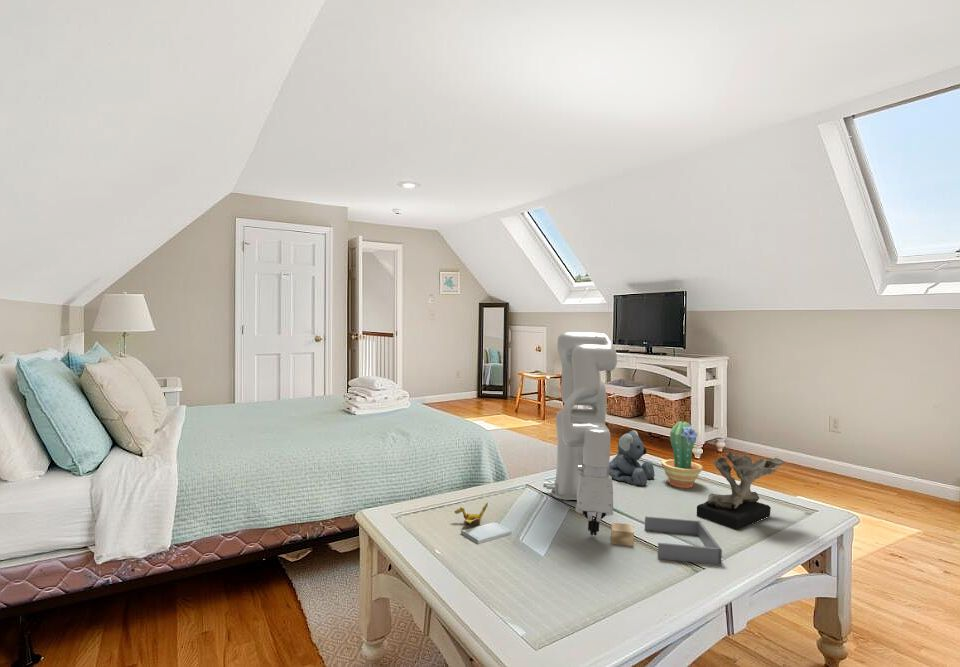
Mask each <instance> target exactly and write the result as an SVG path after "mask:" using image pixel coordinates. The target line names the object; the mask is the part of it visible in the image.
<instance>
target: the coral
mask: <svg viewBox="0 0 960 667" xmlns="http://www.w3.org/2000/svg"><path fill="white" fill-rule="evenodd" d="M733 453H734V454H733ZM733 453H732V452H731V451H728V452H726V453H725V456H726V457H721V456H720V457H718V458H717V459H716V460H715V459H713V460H712V461H713V465H714V466H715V468H716V469H717V470H718V471H719V474H720V475H721V476H722V477H724V479H726V481H727V482H728V483H729V485H730V487H731V494H718V493H710V494H709V495H708V498H707V500H706V501H705V502H703V503H701V504H698V505H697V506H696V517H698V518H701V519H704V520H707V521H710V522H712V523H714V524H715V523H716V524H718V525H720V526H724V527H726V528H729V529H732V530H734V531H738V530H742V529H744V528H746V527H748V525H749V526H751V525H753V524H752V523H754V524H756V523H758V522H757V521H759V520H761V519H764V518H766V517H769V516H770V517H771V509H772V507H771V506H770V505H768V504H765V503H762V502H759V500H760V496H759V495H758V493H757V492H756V491H753V492H752V491H751V486H752V484H753V483H754V482H755V481H756V480H758V479H760V478H761V477H764V476H766V475H771V474H773V473H775V472H777V471H778V470H779V469H778V468H777V467H780V466H782V465H783V464H785V461H784V460H783V459H780V458H778V457H773V460H771V459H763V458H759V459H758V460H755V461H754V463H753V460H752V459H751V458H752V457H750V456H748V455H745V454H743V455H738V454H737V453H736V451H734V452H733ZM727 459H728V460H729V461H730V462H731V464H732V466H730V464H729V462H728V461H727ZM732 469H733V471H734V472H735V474H736V476H737V478H738V479H739V480H740V483H739V484H738V483H737V482H736V480H735V478H734V477H733V476H732V475H731V470H732ZM770 517H769V518H770ZM766 519H767V518H766ZM764 520H765V519H764ZM761 521H762V520H761ZM755 522H756V523H755ZM759 522H760V521H759ZM750 524H751V525H750Z"/></svg>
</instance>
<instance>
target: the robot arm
mask: <svg viewBox="0 0 960 667" xmlns="http://www.w3.org/2000/svg"><path fill="white" fill-rule="evenodd" d="M556 347H557V351H558V356H559V359H560V363H561V382H560V383H561V384H560V385H561V388H560V390H561V391H560V396H561V400H562V402H563V403H564V404H563V407H562V409H560V410H558V411H557V412H556V415H555V427H556V436H557V438H556V440H557V445H556V446H557V447H556V448H557V449H556V468H555V469H556V474H555V475H556V476H555V480H554V481H552V482H549V481H544V482H543V483H542V484H543V488H546V490H551V492H550V494H551V496H553V497H554V498H556V499H558V498H559V500H561V499H564V500H563V501H566V500H577V501H576V505H575V508H574V509H575V512H576V513H578V514H582V515H584V516H585V518H586V519H587V526H588V527H587V530H588V532H590V535H591V536H597V534H598V533H599V531H600V522H601V521H602V519H603V518H605V517H607V516H608V517H609V516H613V515H614V511H613V510H614V485H613V478H612V477H611V476H610V475H609V463H610V461H611V460H610V459H611V458H610V456H611V432H610V428H608V426H607V425H606V411H607V389H606V385H605V383H604V382H603V381H602V380H601V377H600V376H601V375H600V371H606V372H607V371H613V370H615V369H616V367H617V364H618V356H617V350H616V348H615V346H614V344H613V342H612V341H611V339H610V338H609V336H608V335H607V334H606V333H603V332H584V331H567V332H563V333H560V334H559V335H558V337H557V346H556ZM575 406H585V407H587V406H589V407H591V408H575ZM592 513H595V516H594V517H593V515H592Z"/></svg>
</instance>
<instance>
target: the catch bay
mask: <svg viewBox="0 0 960 667" xmlns="http://www.w3.org/2000/svg"><path fill="white" fill-rule="evenodd" d="M647 530H653V531H652V532H658V531H659V533H660V532H661V533H672V534H682V535H684V534H685V535H693V536H697V537H698V538H699V540H700V541H701V542H702V544H703V545H704V546H701V545H700V546H698V545H690V544H689V545H688V544H679V543H678V544H677V543H666V542H657V559H658V560H669V561H677V562H678V561H680V562H689V563H690V562H691V563H700V564H711V565H719V564H721V565H722V559H723V558H722V557H723V556H722V555H723V554H722V552H723V549H722V547H721V546H720V545H719V544H718V542H717V541H716V540H715V539H714V537H713V536H712V535H711V533H710V532H709V531H708V529H707V528H706V527H705V526H704V524H703V523H702V522H701V521H700V520H692V519H681V518H669V517H657V516H656V517H655V516H645V517H644V531H647Z"/></svg>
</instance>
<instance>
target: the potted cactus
mask: <svg viewBox="0 0 960 667" xmlns="http://www.w3.org/2000/svg"><path fill="white" fill-rule="evenodd" d="M669 434H670V435H669V437H670V443H671V447H672V452H673V459H671V458H670V459H664V460H662V461H661V462H660V463H661V467H662V468H663V469H664V473H665V476H666V477H667V479H668V480H669V481H668V484H669V485H671V486H672V487H673V486H674V487H677V488H681V489H682V488H683V489H690V488H689V487H691V488H693V487H694V482H695V481H696V480H697V479H698V477H699V474H700V473H701V472H702V471H703V468H704V467H703V465H701V464H700V463H697V462H694V461H692V459H693V458H692V454H693V448H694V446H695V444H696V442H697V437H698V433H697V432H696V430H695V429H694V428H693V427H692V425H691V424H690V423H689V422H687V421H677V422H676V423H675V425H673V427H672V428H671V430H670V432H669ZM692 486H693V487H692Z"/></svg>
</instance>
